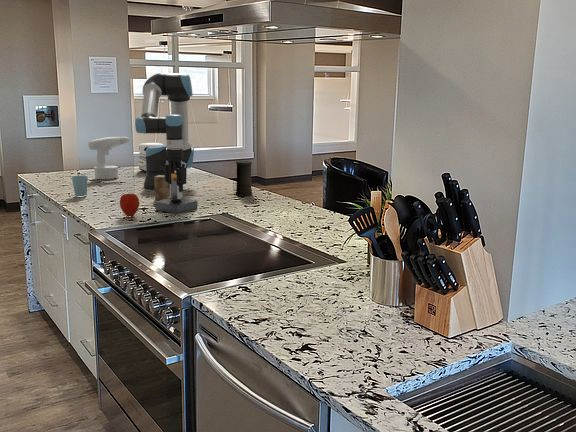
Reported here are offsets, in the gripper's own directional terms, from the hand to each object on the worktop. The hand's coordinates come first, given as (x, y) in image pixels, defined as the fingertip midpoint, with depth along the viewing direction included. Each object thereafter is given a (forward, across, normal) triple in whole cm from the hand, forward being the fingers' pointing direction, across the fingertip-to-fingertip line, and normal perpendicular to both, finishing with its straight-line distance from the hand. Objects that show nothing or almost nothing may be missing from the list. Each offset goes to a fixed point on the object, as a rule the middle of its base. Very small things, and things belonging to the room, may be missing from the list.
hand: (176, 197), depth 270 cm
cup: (+6, -59, -9) cm, 60 cm away
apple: (+6, -6, -23) cm, 24 cm away
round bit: (+4, 0, 0) cm, 4 cm away
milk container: (+6, -89, +69) cm, 113 cm away
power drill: (+6, -90, +36) cm, 97 cm away
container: (+6, +4, +47) cm, 48 cm away
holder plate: (+6, 0, 0) cm, 6 cm away
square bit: (+6, -22, +12) cm, 26 cm away
